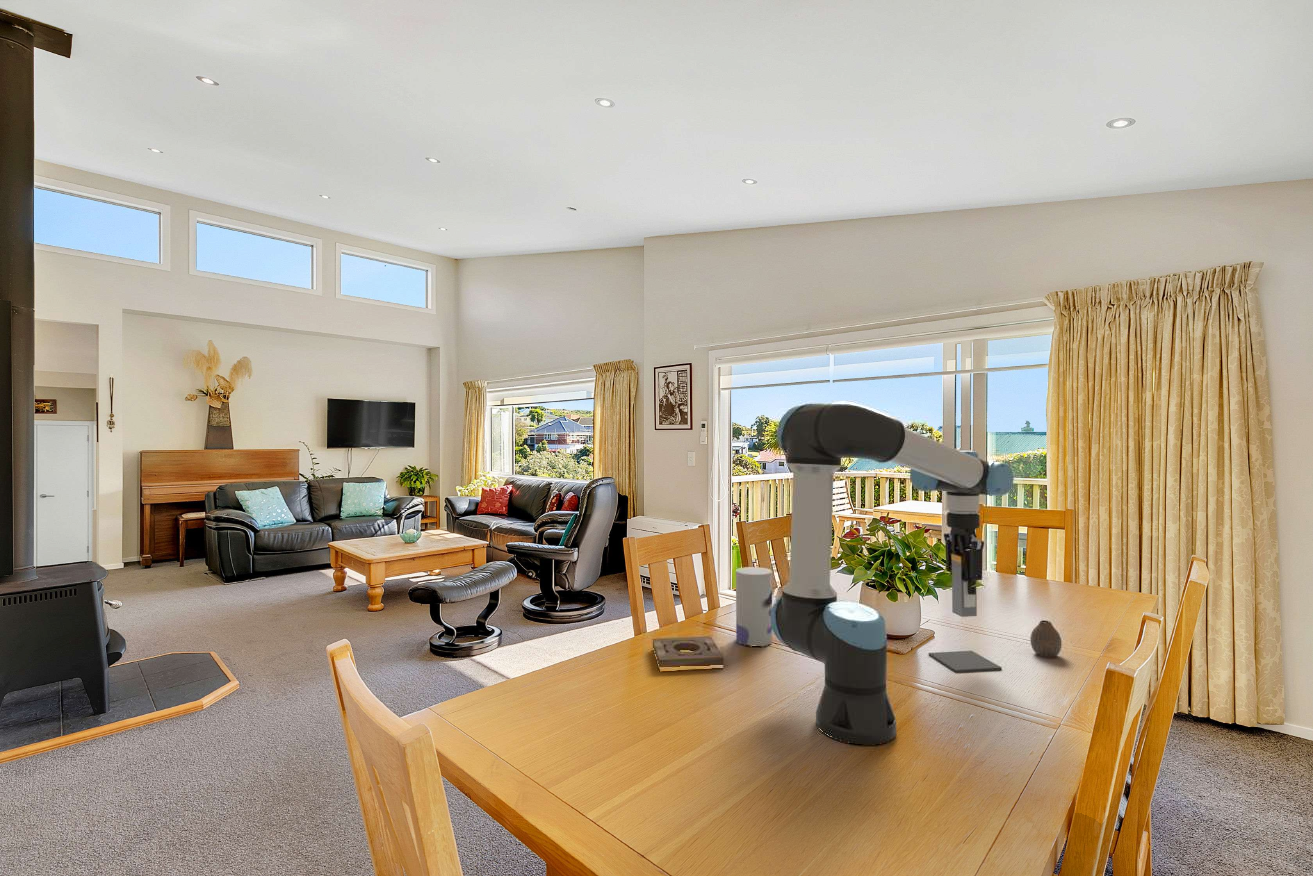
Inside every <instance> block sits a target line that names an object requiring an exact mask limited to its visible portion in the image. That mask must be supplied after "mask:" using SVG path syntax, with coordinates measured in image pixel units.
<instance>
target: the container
mask: <svg viewBox="0 0 1313 876" xmlns="http://www.w3.org/2000/svg"><path fill="white" fill-rule="evenodd" d="M772 607H773V572H772V569H769V568H767V567H766V568H765V567H756V566H747V567H746V566H745V567H739V568H737V569H736V570H735V610H736V611H735V618H736V619H735V621H736V622H735V624H736V625H735V627H736V629H735V631H736V632H735V633H736V637H735V638H736V639H735V641H736V642H737V641H738V642H740V643H742V644H745V645H756V646H761V647H764V646H763V645H767V646H769V645H768V644H770V645H772V644H773V629H772V626H771V610H772ZM738 642H737V643H738ZM740 643H739V644H740ZM742 644H741V645H742ZM745 645H744V646H745Z"/></svg>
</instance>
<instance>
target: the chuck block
mask: <svg viewBox="0 0 1313 876" xmlns="http://www.w3.org/2000/svg"><path fill="white" fill-rule="evenodd" d="M653 648H654V651H655V654H656V657H657V661H658V664H659V667H680V666H710V665H724V664H725V663H724V660H725V659H724V655H723V654H722V651H721V650H720V649H719V647H718V646H717V644H716V643H715V640H714V638H713V637H712V636H711V635H708V636H706V635H705V636H687V637H686V636H684V637H681V636H680V637H666V638H665V637H663V638H660V637H659V638H652V649H653ZM680 650H690V651H693V652H681V651H680Z"/></svg>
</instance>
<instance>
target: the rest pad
mask: <svg viewBox="0 0 1313 876" xmlns="http://www.w3.org/2000/svg"><path fill="white" fill-rule="evenodd" d="M928 656H929V657H931V658H933V659H934V660H935V661H937V662H938V663H940V664H942V665H943V666H945V667H946V668H948V669H949V670H951V671H953V672H954V673H968V672H969V673H970V672H971V673H973V672H986V671H987V672H989V671H1003V667H1002V666H1000V665H998V664H996V663H994V662H993V661H991V660H990V659H987V658H986V657H984V656H982V655H980V654H978V653H977V652H974V651H973V650H961V651H957V650H956V651H941V652H928Z"/></svg>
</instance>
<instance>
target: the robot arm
mask: <svg viewBox="0 0 1313 876" xmlns="http://www.w3.org/2000/svg"><path fill="white" fill-rule="evenodd" d="M776 441H777V444H778V446H779V447H780V448H781V451H782V452H783V453H785V455H786V466H787V467H788V468H789V469H790V470H791V472H792V496H791V523H790V524H791V526H790V527H791V528H790V530H791V531H790V556H789V581H788V582H787V583H786V584H785V585H784V586H783V587H782V588H781V595H779V596H778V597H777V599H776V602H775V603H773V604H772V610H771V626H772V633H773V634H774V635H775V637H776V638H777V640H778V641H780V643H782V644H783V645H785V646H786V647H787V648H788V649H791V650H792V651H794V652H798V653H800V654H802V655H804V656H807V657H809V658H811V659H814V660H816V661H818V662H821V663H823V664H824V687H823V689H822V693H821V695H820V699H819V702H818V705H817V707H816V711H815V724H817V725H816V727H817V726H818V727H819V728H820V729H821V730H822V731H823V732H824V733H826V734H828V735H829V736H832V737H833V738H836V739H838V740H841V741H845V742H849V743H856V744H863V745H862V746H876V745H875V744H879V745H881V744H880V743H884V744H887V743H890V742H891V741H893V740H894V739H895V738H894V737H896V736H897V719H896V716H895V714H894V710H893V707H892V704H891V701H890V699H889V698H890V697H889V695H888V692H887V662H888V661H887V655H888V652H887V650H888V649H887V648H888V647H887V646H888V645H887V642H888V635H887V631H886V629H887V628H886V621H885V619H884V617H883V615H882V614H881V613H879V611H877V610H876V609H874V608H872V607H870V606H867V605H865V604H862V603H859V602H857V603H855V602H854V603H853V602H852V601H844V600H843V601H838V592H837V591H836V590H835V589H834V588H833V587H832V585H831V565H832V563H831V559H832V535H833V534H832V530H833V529H832V528H833V502H834V500H833V499H834V497H833V496H834V476H835V475H834V474H835V473H836V472H837V471H838V470H839V469H841V468H842V458H843V459H846V458H847V459H861V460H863V459H865V460H871V461H874V462H877V463H880V464H885V463H890V462H891V463H894V464H896V465H900V466H902V467H904V468H907V469H910V471H909V479H910V482H911V484H912V486H913V487H914V488H915V489H917V490H918V491H921V492H929V493H930V492H933V491H935V492H939V491H940V492H946V493H945V494H946V495H945V497H946V498H945V499H946V502H945V504H946V507H945V508H946V510H947V512H946V526H947V527H948V528H950V531H949V532H947V533H945V532H944V534H943V538H944V545H945V569H946V571H947V572H949V574H950V576H952V558H951V554H962V555H963V557H964V571H965V578H966V579H963V597H964V607H976V600H975V594H976V593H977V582H978V581H983V553H984V552H983V550H984V547H985V541H984V540H979V538H977V533H976V530H977V529H979V528H980V525H981V524H980V523H981V520H980V513H978V512H979V511H980V495H983V496H990V497H993V496H995V497H996V496H997V497H998V496H999V497H1000V496H1005V495H1007V494H1009V493H1010V492H1011V490H1012V488H1013V484H1014V472H1013V470H1012V467H1011V466H1010V465H1009V464H1007V463H1006V462H1000V461H987V460H983V459H982V458H980V457H979V453H978V452H977V451H975V450H958V449H957V448H954V447H952V446H949V445H947V444H944V443H942V442H939V441H937V440H935V439H933V438H930V437H928V436H925V435H923V434H921V433H919V432H915V431H914V430H911V429H909V428H906V427H905V425H904V423H903V422H902V421H901V420H899V419H898V418H895V417H893V416H890V415H889V414H886V413H883V412H881V411H878V410H876V409H874V408H872V407H871V408H870V407H868V406H865V405H861V404H858V403H855V402H849V401H836V402H818V403H816V402H815V403H814V402H813V403H805V404H801V405H796V406H794V407H791V408H790V409H788V410H787V411H786V413H784V414H783V415H782V417H781V418H780V420H779V422H778V425H777V429H776ZM975 584H976V586H975V587H971V586H973V585H975ZM818 727H817V728H818ZM824 733H823V734H824ZM895 735H896V736H895ZM829 736H828V737H829ZM833 738H832V739H833ZM893 738H894V739H893ZM838 740H837V741H838ZM890 740H891V741H890ZM841 741H840V742H841ZM845 742H844V743H845ZM886 742H887V743H886ZM849 743H848V744H849ZM873 744H874V745H873Z"/></svg>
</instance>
